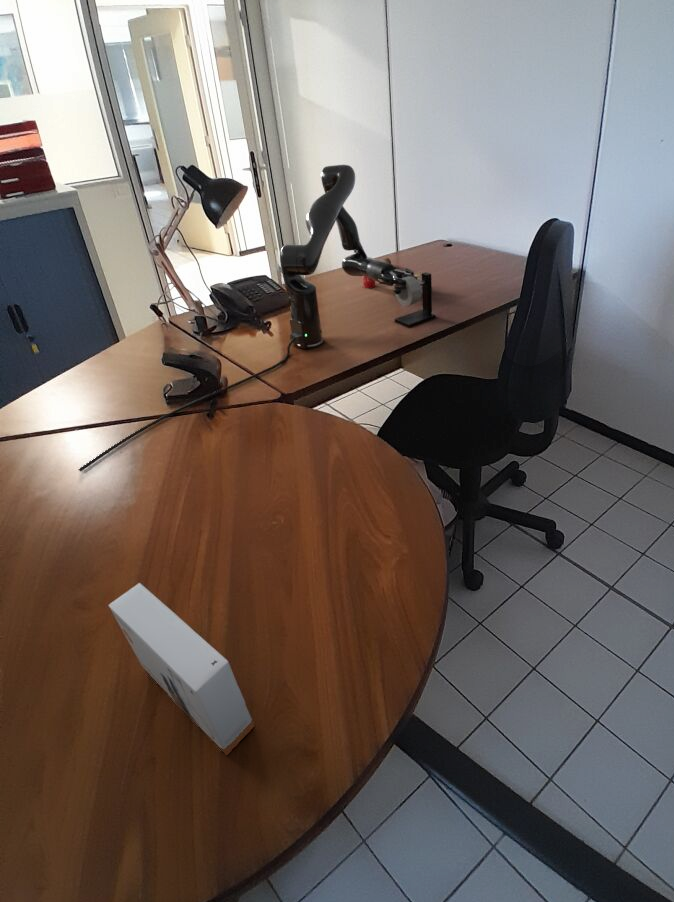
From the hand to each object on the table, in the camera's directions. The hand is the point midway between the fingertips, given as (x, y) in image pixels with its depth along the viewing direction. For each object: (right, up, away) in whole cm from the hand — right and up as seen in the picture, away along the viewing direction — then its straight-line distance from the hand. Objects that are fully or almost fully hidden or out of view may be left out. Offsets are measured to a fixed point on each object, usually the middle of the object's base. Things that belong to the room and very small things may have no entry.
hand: (411, 281), depth 190 cm
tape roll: (-1, -7, +6) cm, 9 cm away
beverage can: (-18, +9, +46) cm, 50 cm away
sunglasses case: (-13, +20, +64) cm, 69 cm away
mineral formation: (0, +4, +38) cm, 38 cm away
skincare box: (-33, -88, -111) cm, 145 cm away
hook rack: (+2, -11, +11) cm, 16 cm away
